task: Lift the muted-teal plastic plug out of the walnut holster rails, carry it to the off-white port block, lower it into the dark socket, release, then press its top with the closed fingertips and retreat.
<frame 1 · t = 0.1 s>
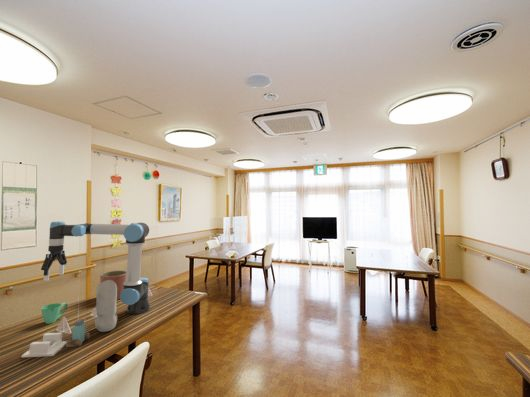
hand: (53, 277, 159), 28 cm above the table, fingers open, 13 cm apart
sculpture: (105, 330, 149), on the table
plug: (78, 342, 135), on the table
port: (46, 349, 127), on the table
holster: (78, 342, 135), on the table
mug: (54, 320, 159), on the table
planter: (112, 297, 200), on the table
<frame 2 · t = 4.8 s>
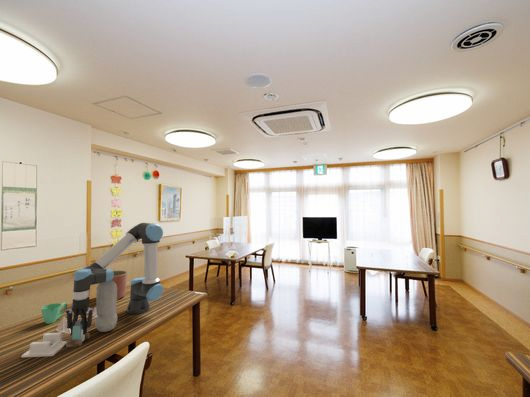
hand: (78, 340, 135), 1 cm above the table, fingers closed on plug, 4 cm apart
plug: (78, 342, 135), on the table, touching gripper
everything else where it was.
when the fingers open (3 cm above the table, at t = 9.3 s): plug stays where it is, resting on port.
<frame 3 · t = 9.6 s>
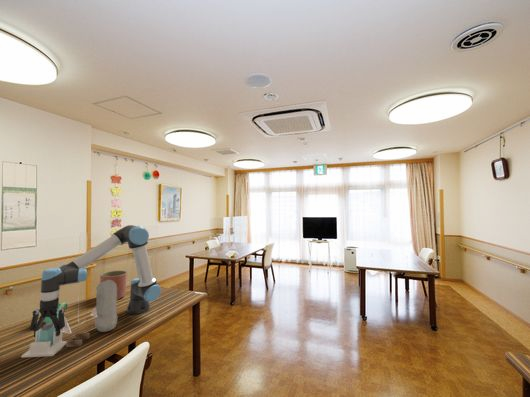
hand: (46, 342, 127), 4 cm above the table, fingers open, 8 cm apart
plug: (46, 347, 127), point 1 cm above the table, touching port
everything else where it was.
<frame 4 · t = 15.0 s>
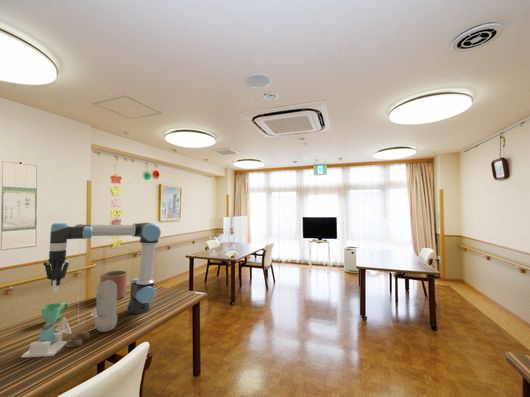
hand: (55, 291, 139), 26 cm above the table, fingers closed
nothing on the table moved.
at the end: plug 0.0 cm off-centre on the port, point 1.2 cm above the port's base; plug tilted 0°; the gripper is holding nothing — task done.
